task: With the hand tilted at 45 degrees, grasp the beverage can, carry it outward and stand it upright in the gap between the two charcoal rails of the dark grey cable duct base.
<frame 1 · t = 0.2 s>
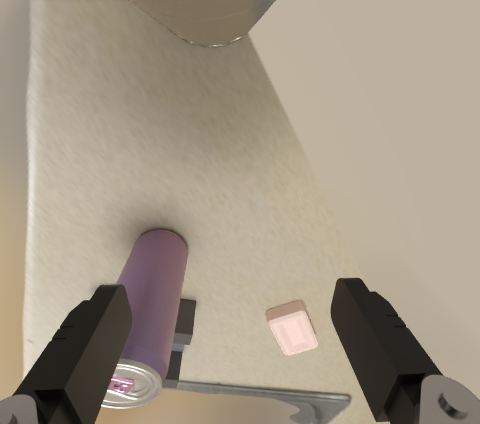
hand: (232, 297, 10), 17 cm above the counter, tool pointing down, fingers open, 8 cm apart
soap bar: (290, 320, 39), on the counter
beverage can: (163, 247, 30), on the counter
duct channel: (145, 324, 36), on the counter
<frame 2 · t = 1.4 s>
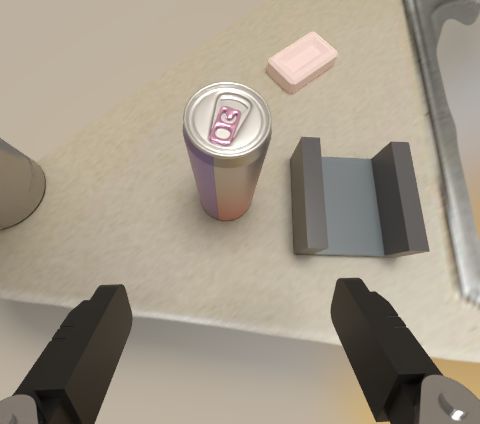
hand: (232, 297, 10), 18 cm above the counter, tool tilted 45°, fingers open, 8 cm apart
soap bar: (299, 70, 37), on the counter
beverage can: (226, 198, 31), on the counter
duct channel: (340, 206, 31), on the counter
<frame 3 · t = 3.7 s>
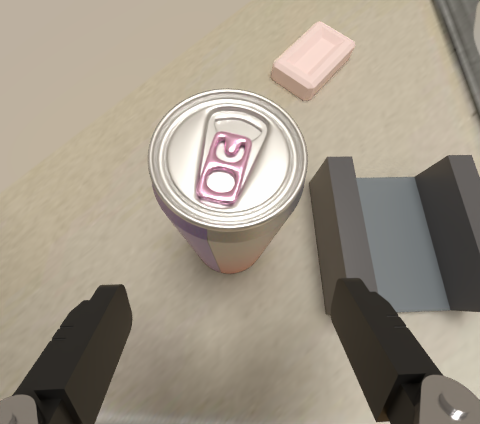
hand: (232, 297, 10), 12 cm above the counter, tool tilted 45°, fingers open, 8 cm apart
soap bar: (309, 70, 30), on the counter
beverage can: (229, 240, 23), on the counter
duct channel: (381, 241, 24), on the counter
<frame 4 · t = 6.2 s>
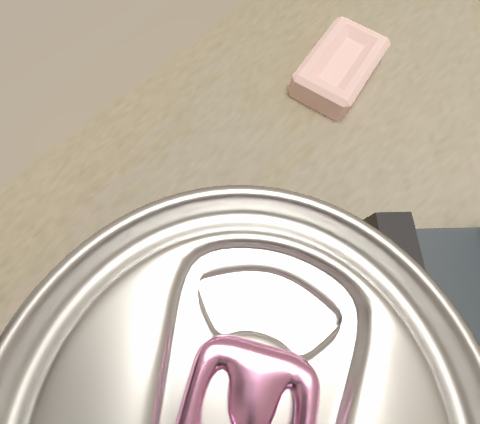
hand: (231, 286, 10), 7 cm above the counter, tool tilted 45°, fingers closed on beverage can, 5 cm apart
soap bar: (333, 80, 24), on the counter
beverage can: (232, 318, 17), on the counter, touching gripper
duct channel: (440, 319, 17), on the counter
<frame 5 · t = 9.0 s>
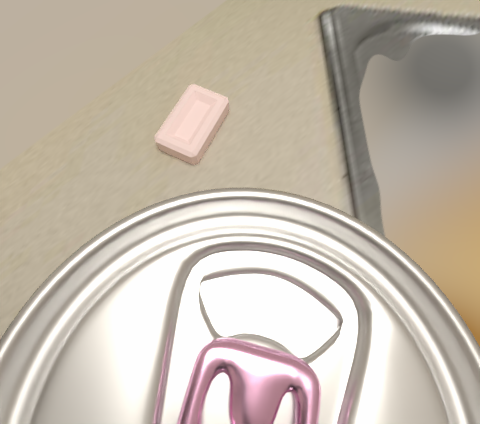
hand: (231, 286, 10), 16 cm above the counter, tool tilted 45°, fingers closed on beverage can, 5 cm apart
soap bar: (195, 130, 32), on the counter
beverage can: (232, 319, 17), point 9 cm above the counter, touching gripper
when the fingers open (10 cm above the counter, at t = 11.7 s): beverage can drops 1 cm, resting on duct channel.
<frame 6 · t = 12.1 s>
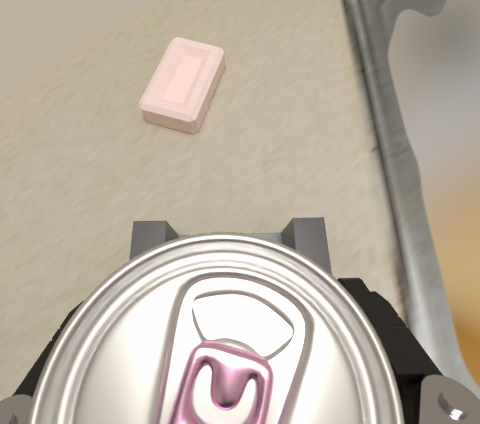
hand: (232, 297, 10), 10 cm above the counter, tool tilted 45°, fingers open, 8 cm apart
soap bar: (187, 95, 26), on the counter
beverage can: (228, 319, 18), point 1 cm above the counter, touching duct channel
duct channel: (231, 315, 19), on the counter
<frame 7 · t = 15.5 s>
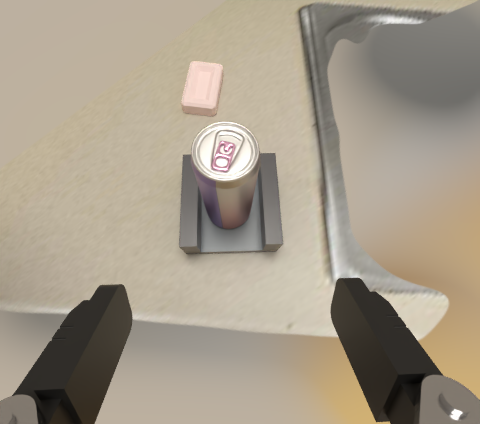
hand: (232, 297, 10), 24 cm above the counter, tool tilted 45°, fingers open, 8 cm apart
soap bar: (204, 94, 43), on the counter
beverage can: (229, 209, 35), point 1 cm above the counter, touching duct channel
duct channel: (230, 210, 36), on the counter
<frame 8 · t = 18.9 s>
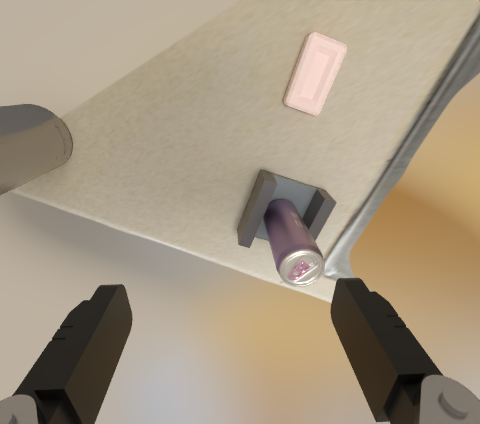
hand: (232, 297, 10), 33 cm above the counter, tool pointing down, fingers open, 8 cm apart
soap bar: (310, 76, 37), on the counter
beverage can: (279, 213, 45), point 1 cm above the counter, touching duct channel
duct channel: (280, 210, 46), on the counter
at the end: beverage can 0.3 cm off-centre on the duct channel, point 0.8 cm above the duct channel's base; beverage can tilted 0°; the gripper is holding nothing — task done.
